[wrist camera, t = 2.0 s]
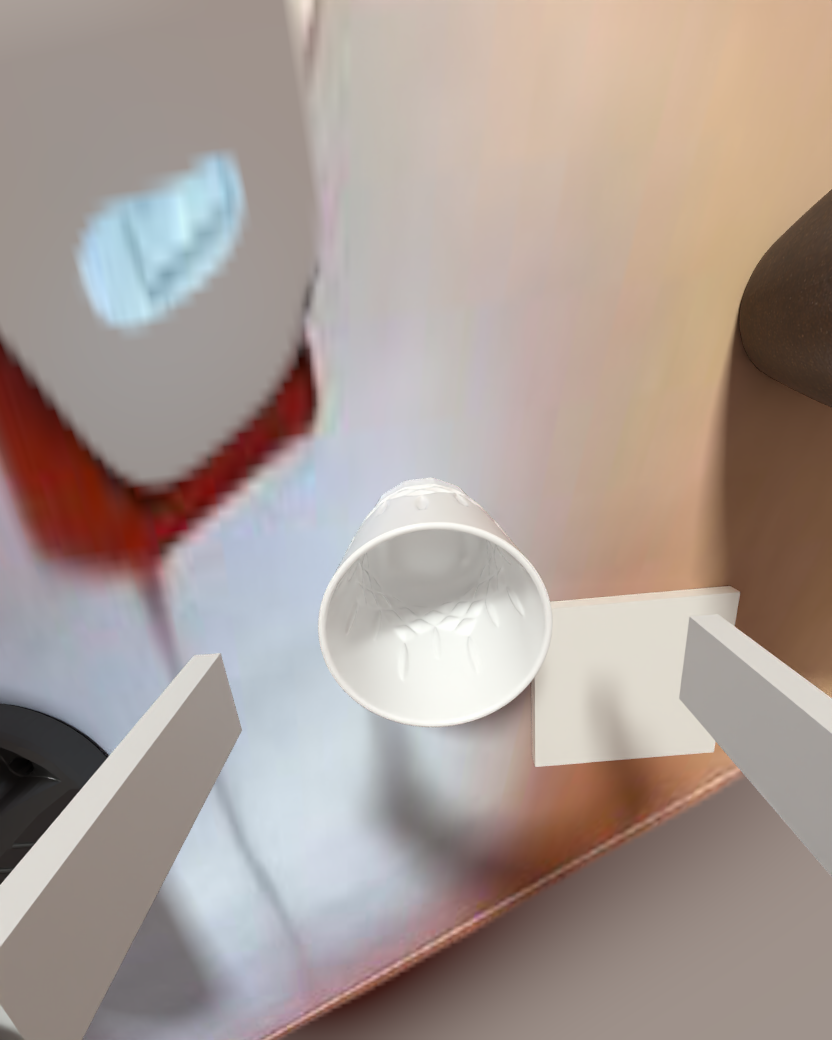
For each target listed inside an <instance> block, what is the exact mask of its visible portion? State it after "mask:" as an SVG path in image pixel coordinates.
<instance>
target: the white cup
mask: <svg viewBox="0 0 832 1040" xmlns="http://www.w3.org/2000/svg"><path fill="white" fill-rule="evenodd" d="M318 634H319V642H320V647H321V651H322V654H323V657H324V660H325V662H326V665H327V667H328V669H329V671H330V673H331V674H332V676H333V677H334V679H335V680H336V682H337V683H338V684H339V686H340V687H341V688H342V689H343V690H344V691H345V692H346V693H347V694H348V695H349V696H350V697H351V698H352V699H353V700H355V701H356V702H357V703H358V704H360V705H361V706H363V707H364V708H366V709H367V710H369V711H371V712H373V713H375V714H377V715H379V716H381V717H383V718H386V719H388V720H391V721H394V722H398V723H402V724H406V725H411V726H419V727H446V726H454V725H459V724H464V723H468V722H471V721H474V720H477V719H480V718H483V717H485V716H487V715H489V714H491V713H493V712H495V711H497V710H499V709H501V708H502V707H504V706H505V705H507V704H508V703H510V702H511V701H512V700H513V699H515V698H516V697H517V696H518V695H519V694H520V693H521V692H522V691H523V690H524V689H525V688H526V687H527V686H528V685H529V684H530V683H531V681H532V680H533V679H534V677H535V676H536V674H537V673H538V671H539V669H540V668H541V666H542V664H543V662H544V660H545V657H546V655H547V652H548V649H549V645H550V641H551V636H552V609H551V604H550V599H549V596H548V593H547V590H546V588H545V585H544V583H543V581H542V579H541V577H540V576H539V574H538V572H537V571H536V569H535V568H534V567H533V565H532V564H531V563H530V562H529V561H528V559H527V558H526V557H525V556H524V555H523V554H522V552H521V551H520V550H519V549H518V548H517V547H516V545H515V544H514V543H513V542H512V541H511V539H510V538H509V537H508V536H507V535H506V533H505V532H504V531H503V530H502V529H501V527H500V526H499V525H498V524H497V523H496V522H495V521H494V519H493V518H491V517H490V515H489V514H488V513H487V512H486V511H485V510H484V509H483V508H482V507H481V506H480V505H479V504H478V503H477V502H475V501H474V500H473V499H471V498H470V497H469V496H468V495H467V494H466V493H465V492H464V491H463V490H462V489H461V488H460V487H459V486H456V485H453V484H450V483H447V482H445V481H442V480H439V479H436V478H433V477H432V478H423V479H414V480H405V481H404V482H402V483H400V484H399V485H397V486H396V487H394V488H392V489H391V490H389V491H387V492H386V493H384V494H383V495H382V496H381V497H380V499H379V500H378V502H377V504H376V505H375V507H374V508H373V509H372V510H371V512H370V513H369V514H368V515H367V516H366V518H365V520H364V521H363V523H362V524H361V526H360V528H359V529H358V531H357V533H356V534H355V536H354V537H353V539H352V541H351V543H350V545H349V547H348V549H347V551H346V553H345V555H344V557H343V559H342V560H341V562H340V564H339V566H338V568H337V570H336V572H335V574H334V575H333V577H332V579H331V581H330V583H329V585H328V587H327V589H326V591H325V594H324V596H323V599H322V603H321V607H320V612H319V620H318Z"/></svg>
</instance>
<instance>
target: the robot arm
mask: <svg viewBox="0 0 832 1040" xmlns="http://www.w3.org/2000/svg"><path fill="white" fill-rule="evenodd" d="M679 699H680V700H681V701H682V702H683V704H684V705H685V706H686V707H687V708H688V709H689V711H690V712H691V713H692V714H693V715H694V716H695V718H696V719H697V720H698V721H699V722H700V723H701V725H702V726H703V727H704V728H705V729H706V731H707V732H708V733H709V734H710V735H711V736H712V738H713V739H714V740H715V741H716V742H717V743H718V745H719V746H720V747H721V748H722V749H723V750H724V752H725V753H726V754H727V755H728V756H729V757H730V759H731V760H732V761H733V762H734V763H735V764H736V766H737V767H738V768H739V769H740V770H741V771H742V773H743V774H744V775H745V776H746V777H747V778H748V780H750V782H751V783H752V784H753V785H754V787H755V788H756V789H757V790H758V791H759V792H760V794H761V795H762V796H763V797H764V798H765V799H766V801H767V802H768V803H769V804H770V805H771V806H772V808H773V809H774V810H775V811H776V812H777V813H778V815H779V816H780V817H781V818H782V819H783V821H784V822H785V823H786V824H787V825H788V826H789V827H790V829H791V830H792V831H793V832H794V833H795V835H796V836H797V837H798V838H799V839H800V840H801V842H802V843H803V844H804V845H805V846H806V847H807V849H808V850H809V851H810V852H811V853H812V854H813V855H814V857H815V858H816V859H817V860H818V861H819V863H820V864H821V865H822V866H823V867H824V868H825V870H826V871H827V872H828V873H829V874H830V875H831V877H832V698H831V697H829V696H828V695H827V694H825V693H824V692H822V691H821V690H820V689H818V688H817V687H816V686H814V685H813V684H812V683H810V682H809V681H808V680H806V679H805V678H804V677H802V676H801V675H799V674H798V673H797V672H795V671H794V670H793V669H791V668H790V667H789V666H787V665H786V664H785V663H783V662H782V661H781V660H779V659H778V658H776V657H775V656H774V655H772V654H771V653H770V652H768V651H767V650H766V649H764V648H763V647H762V646H760V645H759V644H757V643H756V642H755V641H753V640H752V639H751V638H749V637H748V636H747V635H745V634H744V633H743V632H741V631H740V630H739V629H737V628H736V627H734V626H733V625H732V624H730V623H729V622H728V621H726V620H725V619H724V618H722V617H721V616H720V615H718V614H715V615H702V616H690V617H689V625H688V632H687V640H686V648H685V656H684V664H683V671H682V679H681V687H680V695H679ZM241 731H242V729H241V725H240V721H239V718H238V714H237V711H236V707H235V704H234V700H233V696H232V693H231V689H230V686H229V682H228V678H227V675H226V671H225V668H224V664H223V661H222V657H221V653H218V654H205V655H194V656H193V657H192V658H191V660H190V661H189V662H188V663H187V664H186V666H185V667H184V668H183V669H182V670H181V671H180V673H179V674H178V675H177V676H176V677H175V679H174V680H173V681H172V682H171V683H170V684H169V686H168V687H167V688H166V689H165V690H164V692H163V693H162V694H161V695H160V696H159V698H158V699H157V700H156V701H155V702H154V703H153V705H152V706H151V707H150V708H149V709H148V711H147V712H146V713H145V714H144V715H143V716H142V718H141V719H140V720H139V721H138V722H137V724H136V725H135V726H134V727H133V728H132V730H131V731H130V732H129V733H128V734H127V735H126V737H125V738H124V739H123V740H122V741H121V743H120V744H119V745H118V746H117V747H116V748H115V750H114V751H113V752H112V753H111V754H110V756H109V757H108V758H106V757H105V755H104V754H103V753H102V752H101V751H100V750H99V749H98V748H97V747H96V746H95V745H94V744H92V743H91V742H90V741H89V740H88V739H86V738H85V737H84V736H82V735H81V734H79V733H78V732H76V731H75V730H73V729H72V728H70V727H68V726H67V725H65V724H63V723H61V722H59V721H57V720H55V719H53V718H51V717H48V716H46V715H43V714H41V713H38V712H35V711H32V710H28V709H25V708H21V707H17V706H12V705H6V704H0V1040H82V1039H83V1037H84V1035H85V1033H86V1031H87V1029H88V1027H89V1026H90V1024H91V1022H92V1020H93V1018H94V1016H95V1014H96V1012H97V1010H98V1008H99V1006H100V1004H101V1002H102V1000H103V998H104V996H105V995H106V993H107V991H108V989H109V987H110V985H111V983H112V981H113V979H114V977H115V975H116V973H117V971H118V969H119V967H120V965H121V964H122V962H123V960H124V958H125V956H126V954H127V952H128V950H129V948H130V946H131V944H132V942H133V940H134V938H135V936H136V934H137V933H138V931H139V929H140V927H141V925H142V923H143V921H144V919H145V917H146V915H147V913H148V911H149V909H150V907H151V905H152V903H153V902H154V900H155V898H156V896H157V894H158V892H159V890H160V888H161V886H162V884H163V882H164V880H165V878H166V876H167V874H168V872H169V871H170V869H171V867H172V865H173V863H174V861H175V859H176V857H177V855H178V853H179V851H180V849H181V847H182V845H183V843H184V841H185V840H186V838H187V836H188V834H189V832H190V830H191V828H192V826H193V824H194V822H195V820H196V818H197V816H198V814H199V812H200V810H201V809H202V807H203V805H204V803H205V801H206V799H207V797H208V795H209V793H210V791H211V789H212V787H213V785H214V783H215V781H216V779H217V778H218V776H219V774H220V772H221V770H222V768H223V766H224V764H225V762H226V760H227V758H228V756H229V754H230V752H231V750H232V748H233V747H234V745H235V743H236V741H237V739H238V737H239V735H240V733H241Z"/></svg>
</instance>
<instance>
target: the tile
mask: <svg viewBox="0 0 832 1040" xmlns="http://www.w3.org/2000/svg"><path fill="white" fill-rule="evenodd" d="M739 597H740V592H739V591H738V590H736V589H734V588H733V587H731V586H722V587H711V588H699V589H688V590H677V591H666V592H654V593H643V594H632V595H621V596H609V597H598V598H587V599H576V600H564V601H553V602H550V604H551V609H552V636H551V641H550V645H549V649H548V652H547V655H546V657H545V660H544V662H543V664H542V666H541V668H540V669H539V671H538V673H537V674H536V676H535V677H534V679H533V680H532V681H531V710H532V759H533V762H534V765H535V767H540V766H552V765H564V764H576V763H588V762H600V761H612V760H624V759H636V758H648V757H660V756H672V755H684V754H696V753H708V752H714V747H715V740H714V739H713V738H712V736H711V735H710V734H709V733H708V732H707V731H706V729H705V728H704V727H703V726H702V725H701V723H700V722H699V721H698V720H697V719H696V718H695V716H694V715H693V714H692V713H691V712H690V711H689V709H688V708H687V707H686V706H685V705H684V704H683V702H682V701H681V700H680V699H679V695H680V687H681V679H682V671H683V664H684V656H685V648H686V640H687V632H688V625H689V617H690V616H702V615H715V614H718V615H720V616H721V617H722V618H724V619H725V620H726V621H728V622H729V623H730V624H732V625H733V626H734V627H735V621H736V615H737V609H738V603H739Z"/></svg>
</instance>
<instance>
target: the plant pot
mask: <svg viewBox="0 0 832 1040" xmlns="http://www.w3.org/2000/svg"><path fill="white" fill-rule="evenodd" d="M740 332H741V339H742V342H743V345H744V349H745V351H746V353H747V355H748V357H749V358H750V360H751V361H752V362H753V364H754V365H755V366H756V367H757V368H758V369H759V370H761V371H762V372H763V373H765V374H766V375H768V376H770V377H771V378H773V379H775V380H777V381H779V382H780V383H782V384H784V385H786V386H788V387H790V388H792V389H794V390H796V391H798V392H800V393H802V394H804V395H806V396H808V397H810V398H812V399H814V400H816V401H819V402H821V403H823V404H825V405H828V406H830V407H832V190H831V191H829V192H828V193H827V194H826V195H825V196H824V197H823V198H822V199H820V200H819V201H818V202H817V203H816V204H815V205H814V206H813V207H812V208H811V209H810V210H808V211H807V212H806V213H805V214H804V215H803V216H802V217H801V218H800V219H799V220H798V221H797V222H795V223H794V224H793V225H792V226H791V227H790V228H789V229H788V230H787V231H786V232H785V233H784V234H783V235H782V236H781V237H780V238H779V239H778V240H777V241H776V242H775V243H774V244H773V245H772V246H771V247H770V249H769V250H768V251H767V252H766V253H765V255H764V256H763V257H762V259H761V260H760V262H759V263H758V265H757V266H756V268H755V270H754V271H753V273H752V275H751V278H750V280H749V282H748V284H747V287H746V289H745V293H744V296H743V299H742V303H741V309H740Z"/></svg>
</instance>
